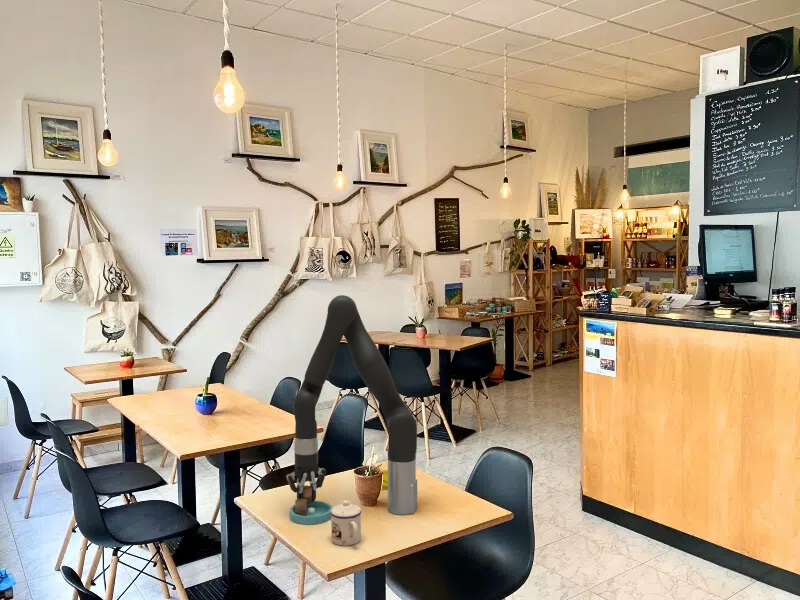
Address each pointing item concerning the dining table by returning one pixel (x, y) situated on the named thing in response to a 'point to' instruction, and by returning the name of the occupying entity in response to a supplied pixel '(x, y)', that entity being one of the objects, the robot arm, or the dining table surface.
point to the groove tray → (314, 518)
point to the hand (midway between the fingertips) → (306, 501)
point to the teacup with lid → (346, 524)
